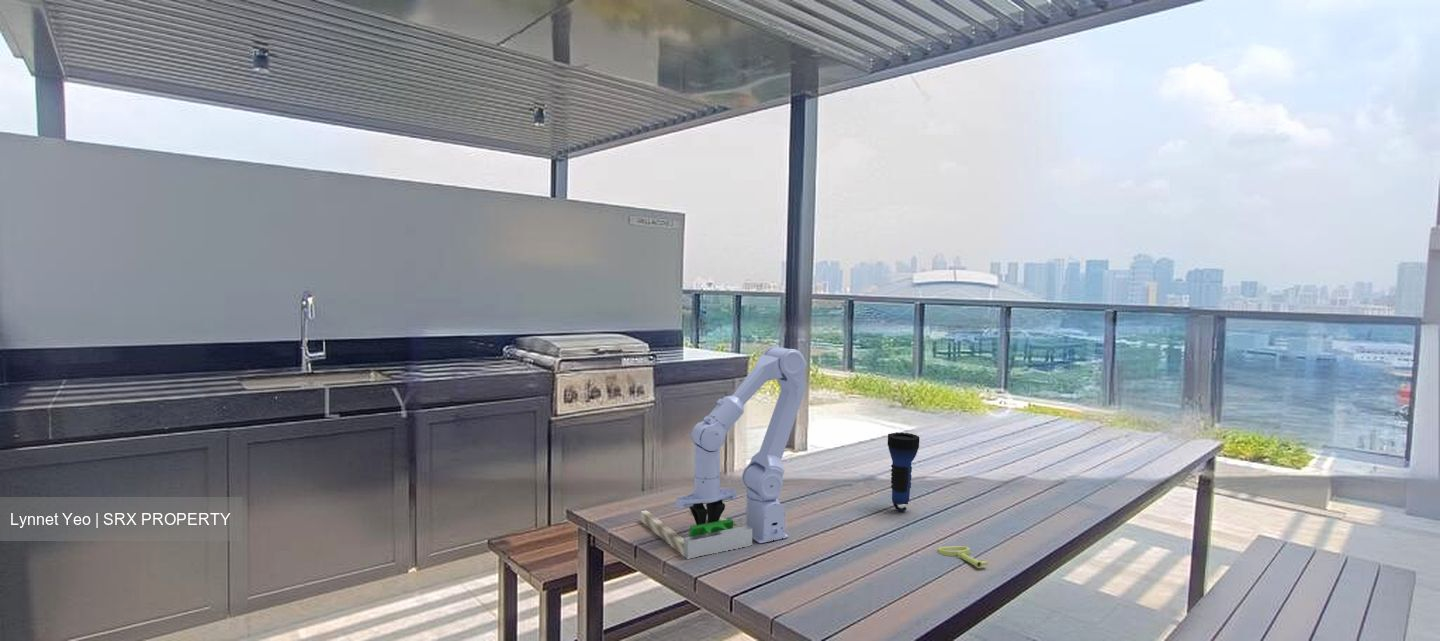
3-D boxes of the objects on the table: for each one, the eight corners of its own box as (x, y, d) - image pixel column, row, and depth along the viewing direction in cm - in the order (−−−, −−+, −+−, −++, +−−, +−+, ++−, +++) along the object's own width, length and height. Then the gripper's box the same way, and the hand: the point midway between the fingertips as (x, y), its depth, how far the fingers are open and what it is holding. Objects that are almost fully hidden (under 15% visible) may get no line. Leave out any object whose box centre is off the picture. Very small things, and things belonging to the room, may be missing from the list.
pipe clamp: (694, 552, 140) (697, 535, 139) (687, 542, 143) (690, 526, 142) (736, 543, 145) (738, 527, 144) (728, 534, 148) (731, 518, 147)
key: (979, 573, 132) (979, 563, 132) (932, 552, 142) (932, 543, 142) (1002, 567, 135) (1002, 556, 135) (955, 547, 146) (955, 537, 146)
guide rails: (747, 542, 145) (747, 532, 145) (683, 556, 138) (683, 544, 137) (698, 511, 166) (698, 501, 166) (640, 521, 158) (640, 511, 158)
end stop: (752, 546, 144) (752, 528, 143) (687, 559, 136) (688, 541, 136) (747, 542, 145) (747, 525, 145) (683, 556, 138) (683, 537, 137)
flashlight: (917, 518, 163) (918, 440, 162) (884, 514, 165) (886, 437, 165) (918, 508, 170) (919, 433, 170) (887, 505, 173) (888, 431, 172)
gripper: (726, 467, 152) (725, 523, 153) (670, 475, 145) (669, 534, 146) (741, 474, 146) (740, 533, 147) (684, 483, 139) (683, 545, 140)
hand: (706, 534), depth 146 cm, fingers closed on pipe clamp, 2 cm apart
